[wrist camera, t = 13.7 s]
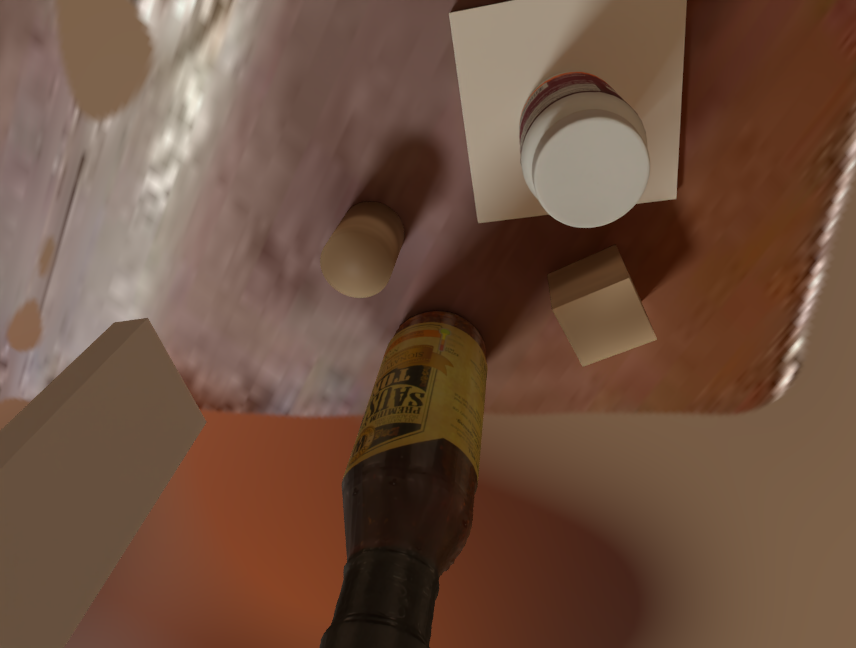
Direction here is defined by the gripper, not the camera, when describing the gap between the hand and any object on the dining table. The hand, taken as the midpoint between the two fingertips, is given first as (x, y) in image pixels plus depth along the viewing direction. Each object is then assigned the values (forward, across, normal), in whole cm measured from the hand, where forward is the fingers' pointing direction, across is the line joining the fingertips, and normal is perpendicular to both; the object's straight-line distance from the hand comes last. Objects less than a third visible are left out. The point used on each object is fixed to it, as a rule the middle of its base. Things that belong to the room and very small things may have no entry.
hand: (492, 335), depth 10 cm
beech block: (+20, +4, -11) cm, 24 cm away
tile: (+20, +3, -1) cm, 21 cm away
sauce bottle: (+20, -6, -14) cm, 25 cm away
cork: (+20, -8, -6) cm, 23 cm away
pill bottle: (+20, +3, -2) cm, 20 cm away
